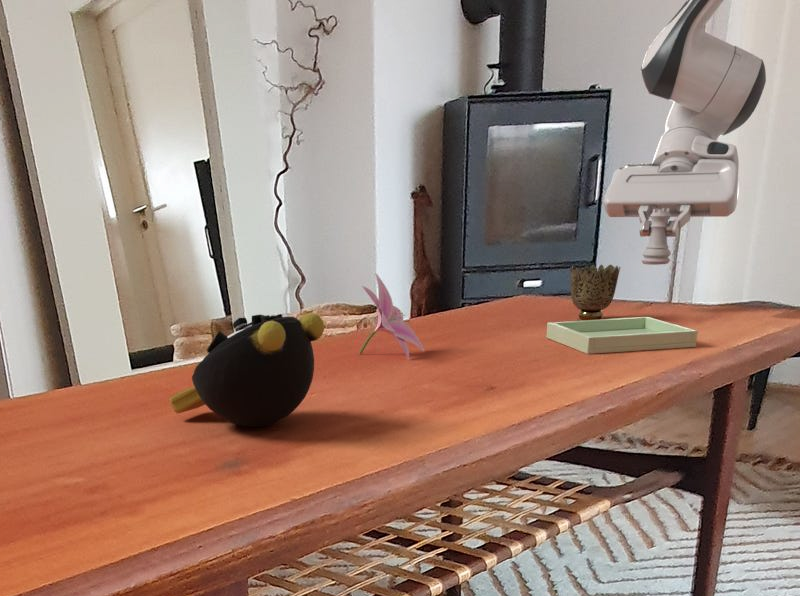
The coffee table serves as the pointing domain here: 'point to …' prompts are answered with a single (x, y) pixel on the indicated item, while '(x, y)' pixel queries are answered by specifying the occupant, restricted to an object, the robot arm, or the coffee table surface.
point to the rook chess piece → (658, 239)
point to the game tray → (621, 335)
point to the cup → (593, 289)
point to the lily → (391, 319)
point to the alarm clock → (255, 370)
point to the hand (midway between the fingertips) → (657, 234)
